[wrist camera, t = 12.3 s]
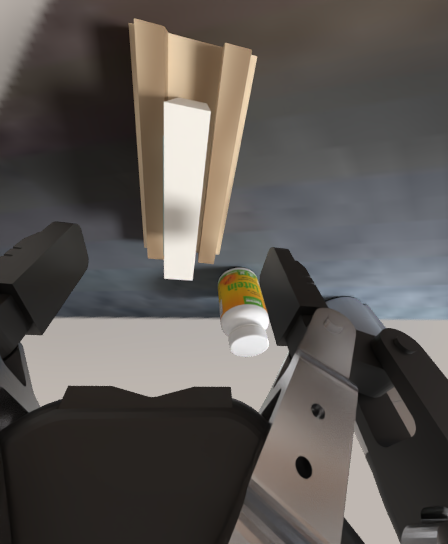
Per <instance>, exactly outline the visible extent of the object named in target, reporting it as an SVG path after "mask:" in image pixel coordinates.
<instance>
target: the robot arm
mask: <svg viewBox="0 0 448 544" xmlns="http://www.w3.org/2000/svg"><path fill="white" fill-rule="evenodd" d="M87 267H88V254H87V250H86V246H85V242H84V239H83V235H82V231H81V228H80V226H79V225H78V224H73V223H65V222H52V223H51V224H50V225H49V226H47V227H46V228H45V229H44V230H43V231H41V232H38V233H36V234H33V235H31V236H29V237H26V238H24V239H22V240H21V241H20V242H19V243H17V244H16V245H15V246H14V247H13V249H10V250H9V251H7V252H6V253H5V254H4V256H1V257H0V544H365V543H364V542H363V541H362V540H361V538H360V537H359V536H358V534H357V533H356V532H355V531H354V529H353V528H352V527H351V526H350V524H349V523H348V522H347V520H346V519H345V518H344V510H345V501H346V493H347V484H348V476H349V468H350V459H351V451H352V442H353V433H354V432H355V435H356V437H357V439H358V441H359V443H360V446H361V448H362V450H363V452H364V454H365V456H366V459H367V461H368V464H369V466H370V468H371V470H372V472H373V475H374V478H375V481H376V484H377V487H378V490H379V493H380V495H381V498H382V501H383V503H384V506H385V508H386V511H387V512H388V515H389V518H390V520H391V522H392V524H393V527H394V529H395V531H396V534H397V536H398V539H399V541H400V543H401V544H448V379H447V378H446V377H445V376H444V374H443V373H442V372H441V371H440V370H439V368H438V367H437V366H436V364H435V363H434V362H433V361H432V359H431V358H430V357H429V356H428V355H427V353H426V352H425V351H424V349H423V348H422V347H421V346H420V345H419V344H418V343H417V342H416V341H415V340H414V339H412V338H411V337H410V336H408V335H406V334H405V333H403V332H401V331H399V330H396V329H391V328H385V326H384V325H383V324H382V322H381V321H380V320H379V319H378V317H377V316H376V315H375V313H374V312H373V311H372V310H371V308H370V307H369V306H368V305H363V304H362V303H361V302H360V301H359V300H358V299H356V298H352V297H340V298H335V299H332V300H329V301H326V302H325V301H324V299H323V297H322V296H321V294H320V292H319V290H318V289H317V287H316V285H314V282H313V280H312V278H310V275H309V273H308V271H307V270H306V268H305V267H304V266H303V265H301V264H300V263H299V262H298V261H295V260H294V258H293V257H292V255H291V253H290V251H289V250H288V249H283V248H275V247H271V248H270V250H269V252H268V254H267V257H266V260H265V263H264V265H263V268H262V271H261V274H260V288H261V292H262V295H263V298H264V302H265V305H266V309H267V312H268V316H269V319H270V323H271V326H272V330H273V333H274V336H275V340H276V344H277V346H288V349H289V352H288V354H287V355H286V358H285V360H284V362H283V364H282V366H281V368H280V370H279V373H278V375H277V377H276V379H275V381H274V383H273V385H272V388H271V390H270V392H269V394H268V396H267V397H266V399H265V401H264V403H263V405H262V406H261V408H260V411H259V412H257V411H256V410H254V409H253V408H252V407H250V406H248V405H247V404H245V403H243V402H241V401H238V400H236V399H233V398H232V396H231V387H192V388H188V389H184V390H180V391H176V392H173V393H169V394H165V395H162V396H158V397H147V396H144V395H140V394H137V393H134V392H130V391H127V390H123V389H120V388H117V387H113V386H68V388H67V390H66V392H65V394H64V396H63V399H61V400H58V401H55V402H52V403H49V404H46V405H44V406H42V407H40V405H39V403H38V401H37V400H36V397H35V395H34V392H33V389H32V384H31V380H30V375H29V371H28V367H27V362H26V358H25V353H24V349H23V346H22V344H21V343H20V341H21V340H22V338H23V337H24V336H25V335H43V333H44V332H45V330H46V329H47V327H48V326H49V324H50V323H51V321H52V320H53V319H54V317H55V316H56V314H57V313H58V311H59V310H60V308H61V307H62V305H63V304H64V302H65V301H66V299H67V298H68V296H69V295H70V294H71V292H72V291H73V289H74V288H75V286H76V285H77V283H78V282H79V280H80V279H81V277H82V276H83V274H84V273H85V271H86V270H87Z"/></svg>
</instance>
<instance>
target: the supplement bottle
mask: <svg viewBox="0 0 448 544" xmlns="http://www.w3.org/2000/svg"><path fill="white" fill-rule="evenodd" d="M218 295H219V307H220V320H221V327H222V330H223V332H224V333H225V334H226V335H227V336H228V337H229V345H230V350H231V352H232V353H233V354H235V355H237V356H242V357H250V356H255V355H258V354H261V353H262V352H264V351H265V350H266V349H267V348H268V346H269V341H268V337H267V333H266V329H267V327H268V325H269V317H268V313H267V310H266V306H265V303H264V300H263V296H262V293H261V289H260V286H259V282H258V279H257V277H256V275H255V274H254V273H253V272H252V271H251V270H249V269H246V268H233V269H230V270H228V271H226V272H224V273H223V274H222V275H221V276H220V278H219V281H218Z"/></svg>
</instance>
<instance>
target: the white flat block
mask: <svg viewBox="0 0 448 544" xmlns="http://www.w3.org/2000/svg"><path fill="white" fill-rule="evenodd" d="M210 115H211V111H210V109H209V107H208V104H207V103H203V102H198V101H194V100H189V99H184V98H180V97H178V98H175V99H171V100H168V101H165V102H164V136H163V256H164V279H177V280H191V281H193V272H194V263H195V254H196V244H197V235H198V226H199V217H200V207H201V198H202V189H203V180H204V171H205V161H206V152H207V143H208V134H209V124H210Z"/></svg>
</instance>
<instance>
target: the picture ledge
mask: <svg viewBox="0 0 448 544" xmlns="http://www.w3.org/2000/svg"><path fill="white" fill-rule="evenodd" d="M129 35H130V50H131V64H132V78H133V93H134V107H135V121H136V136H137V150H138V164H139V179H140V193H141V207H142V222H143V236H144V247H145V248H147V249H148V258H152V259H164V256H163V136H164V102H165V101H168V100H171V99H175V98H178V97H180V98H184V99H189V100H194V101H198V102H203V103H207V104H208V107H209V109H210V111H211V115H210V124H209V134H208V143H207V152H206V161H205V171H204V180H203V189H202V198H201V207H200V217H199V226H198V235H197V244H196V252H197V253H198V263H209V264H214V259H215V254H218V255H219V253H220V247H221V242H222V237H223V232H224V227H225V221H226V216H227V211H228V206H229V201H230V195H231V190H232V185H233V180H234V175H235V169H236V164H237V159H238V154H239V149H240V144H241V138H242V133H243V128H244V123H245V118H246V112H247V107H248V102H249V97H250V92H251V86H252V81H253V76H254V71H255V66H256V60H257V56H254V55H251V53H252V50H251V49H247V48H243V47H240V46H236V45H232V44H228V43H225V44H224V46H223V47H219V46H215V45H212V44H208V43H204V42H200V41H196V40H193V39H189V38H185V37H181V36H177V35H174V34H170V33H168V32H167V30H166V28H165V26H161V25H157V24H153V23H150V22H146V21H142V20H138V19H135V18H134V24H132V23H129Z"/></svg>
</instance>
